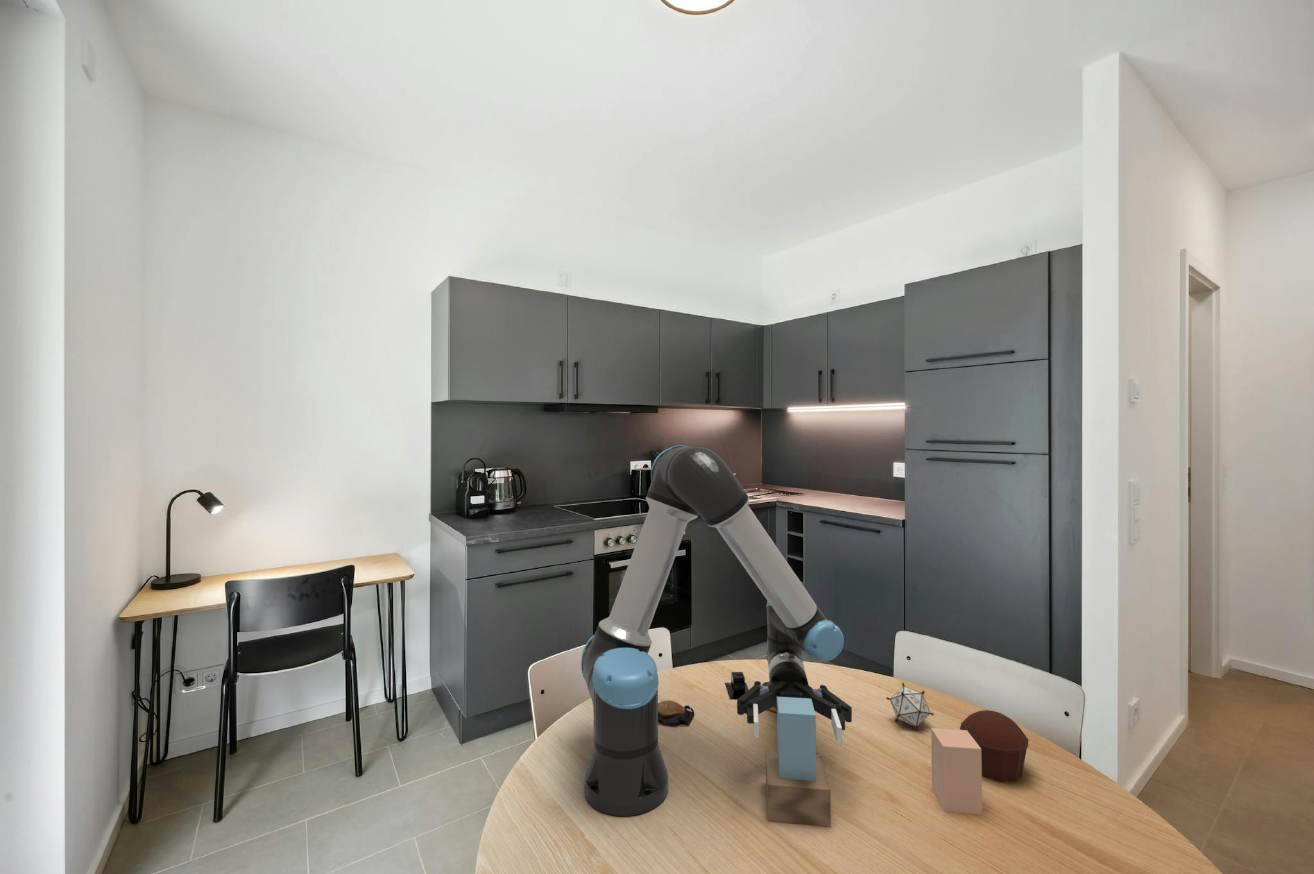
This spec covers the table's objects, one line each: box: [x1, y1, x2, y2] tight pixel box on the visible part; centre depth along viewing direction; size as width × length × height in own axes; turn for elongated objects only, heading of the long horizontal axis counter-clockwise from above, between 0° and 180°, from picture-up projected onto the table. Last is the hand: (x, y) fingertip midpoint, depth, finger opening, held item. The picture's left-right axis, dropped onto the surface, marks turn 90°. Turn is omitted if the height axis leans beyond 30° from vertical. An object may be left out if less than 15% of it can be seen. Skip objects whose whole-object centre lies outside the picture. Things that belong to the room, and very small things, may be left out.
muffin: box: [959, 709, 1029, 783], centre depth 107 cm, size 12×11×10 cm
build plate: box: [724, 671, 750, 701], centre depth 140 cm, size 12×7×5 cm, turn 0°
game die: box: [885, 682, 935, 732], centre depth 123 cm, size 9×8×10 cm
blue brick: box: [776, 697, 817, 781], centre depth 97 cm, size 6×6×11 cm
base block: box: [765, 750, 832, 828], centre depth 97 cm, size 10×10×6 cm
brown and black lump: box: [658, 700, 695, 728], centre depth 128 cm, size 11×8×4 cm
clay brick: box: [930, 727, 983, 816], centre depth 97 cm, size 6×6×11 cm
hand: (797, 733), depth 94 cm, fingers open, 13 cm apart
